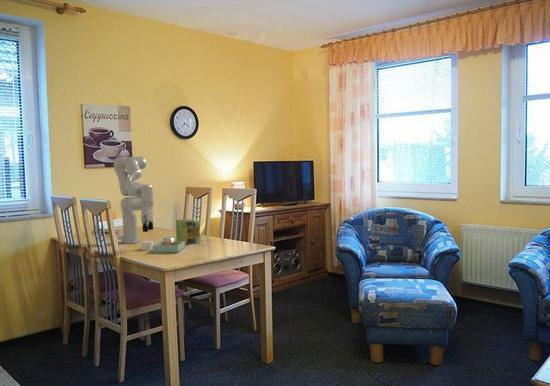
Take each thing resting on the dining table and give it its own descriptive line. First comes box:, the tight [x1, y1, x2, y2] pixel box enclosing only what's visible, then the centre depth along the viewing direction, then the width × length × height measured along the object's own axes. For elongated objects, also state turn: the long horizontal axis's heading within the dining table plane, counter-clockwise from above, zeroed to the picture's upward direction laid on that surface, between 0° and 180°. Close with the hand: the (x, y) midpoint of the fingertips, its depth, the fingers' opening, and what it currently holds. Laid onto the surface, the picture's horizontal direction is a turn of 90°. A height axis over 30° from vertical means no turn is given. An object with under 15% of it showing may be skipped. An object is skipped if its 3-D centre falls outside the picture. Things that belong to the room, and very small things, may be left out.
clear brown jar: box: [163, 236, 175, 246], centre depth 297 cm, size 6×6×7 cm
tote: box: [152, 240, 186, 254], centre depth 297 cm, size 16×16×4 cm
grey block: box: [140, 240, 155, 251], centre depth 302 cm, size 6×6×5 cm
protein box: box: [175, 218, 201, 246], centre depth 324 cm, size 10×15×16 cm
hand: (148, 230), depth 301 cm, fingers open, 9 cm apart
